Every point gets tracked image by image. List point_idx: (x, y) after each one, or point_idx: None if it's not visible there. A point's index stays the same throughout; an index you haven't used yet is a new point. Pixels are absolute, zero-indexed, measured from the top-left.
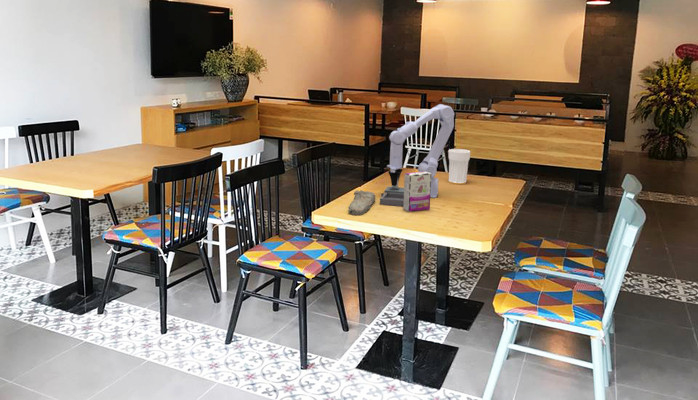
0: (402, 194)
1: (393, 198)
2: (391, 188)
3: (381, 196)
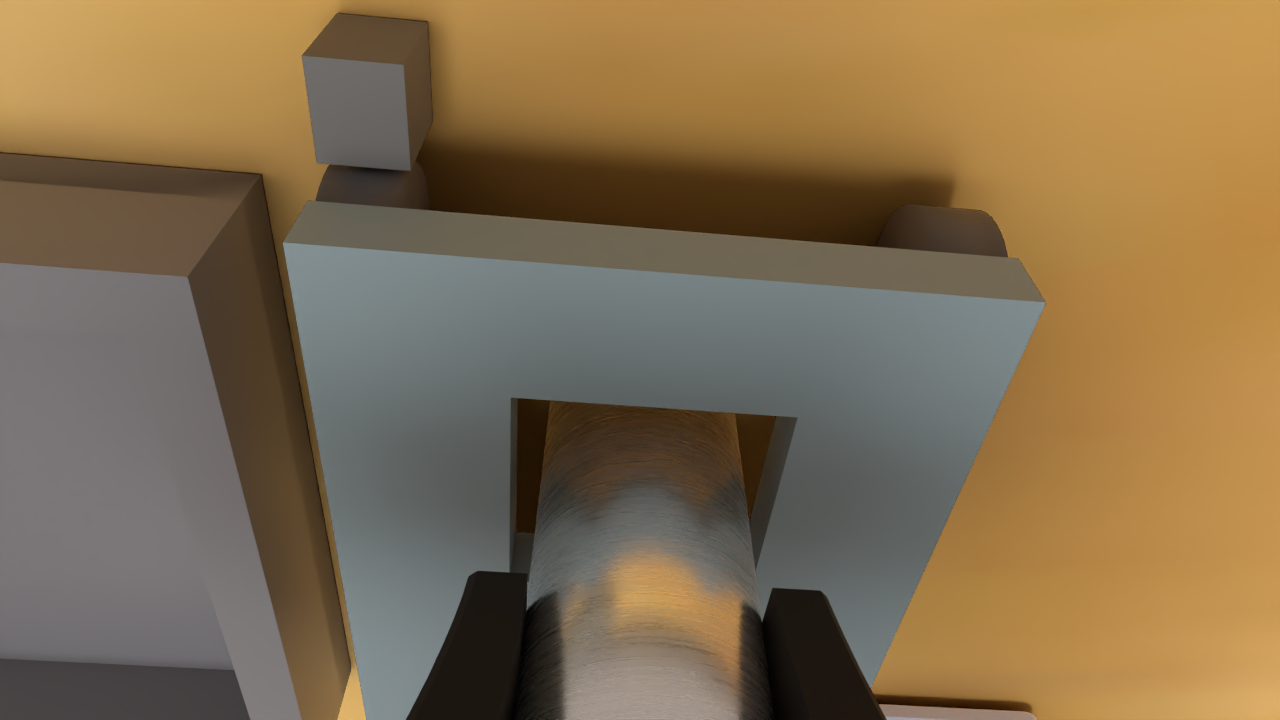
0: (228, 645)
1: (135, 409)
2: (794, 403)
3: (331, 36)
